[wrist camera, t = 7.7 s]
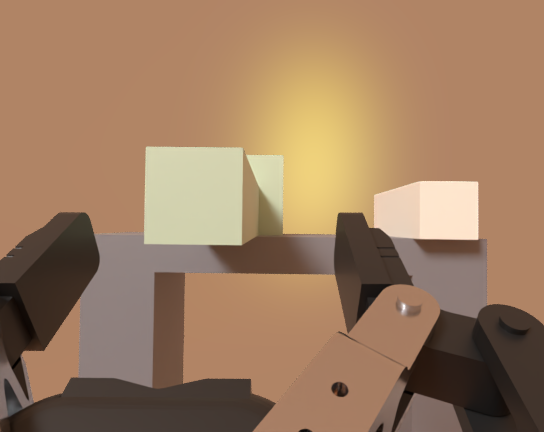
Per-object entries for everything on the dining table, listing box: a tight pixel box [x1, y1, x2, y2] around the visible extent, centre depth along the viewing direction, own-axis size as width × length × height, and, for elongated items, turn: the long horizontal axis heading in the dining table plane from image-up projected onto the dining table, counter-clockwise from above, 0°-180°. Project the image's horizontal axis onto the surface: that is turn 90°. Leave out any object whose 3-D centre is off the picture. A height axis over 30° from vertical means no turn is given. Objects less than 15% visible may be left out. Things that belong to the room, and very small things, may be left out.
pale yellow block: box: [144, 147, 283, 245], centre depth 20 cm, size 6×16×5 cm, turn 0°
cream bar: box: [374, 181, 478, 240], centre depth 24 cm, size 3×9×3 cm, turn 0°
